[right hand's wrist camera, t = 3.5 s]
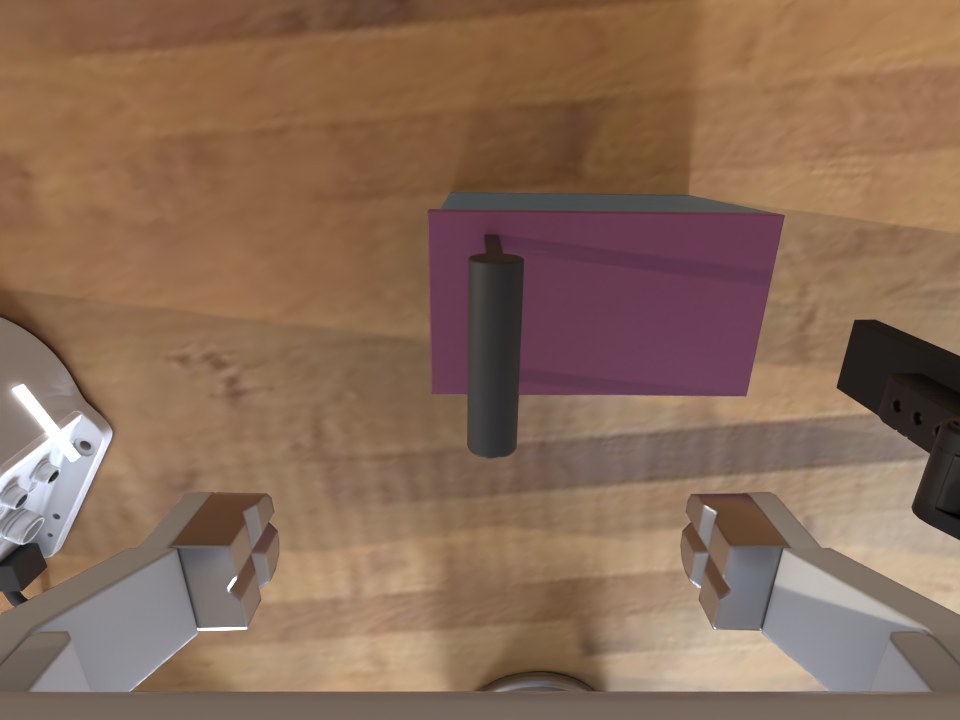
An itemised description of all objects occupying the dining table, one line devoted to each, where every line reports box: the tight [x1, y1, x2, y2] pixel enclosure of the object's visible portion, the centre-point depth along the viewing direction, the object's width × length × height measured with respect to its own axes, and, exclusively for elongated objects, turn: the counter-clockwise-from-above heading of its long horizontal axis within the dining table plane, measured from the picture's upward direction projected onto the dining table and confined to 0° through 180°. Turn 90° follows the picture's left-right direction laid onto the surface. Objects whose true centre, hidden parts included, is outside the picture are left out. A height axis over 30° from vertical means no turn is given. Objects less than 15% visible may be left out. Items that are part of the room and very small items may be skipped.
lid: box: [427, 209, 784, 459], centre depth 24 cm, size 17×9×9 cm, turn 89°
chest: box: [441, 193, 771, 213], centre depth 33 cm, size 16×9×11 cm, turn 89°
